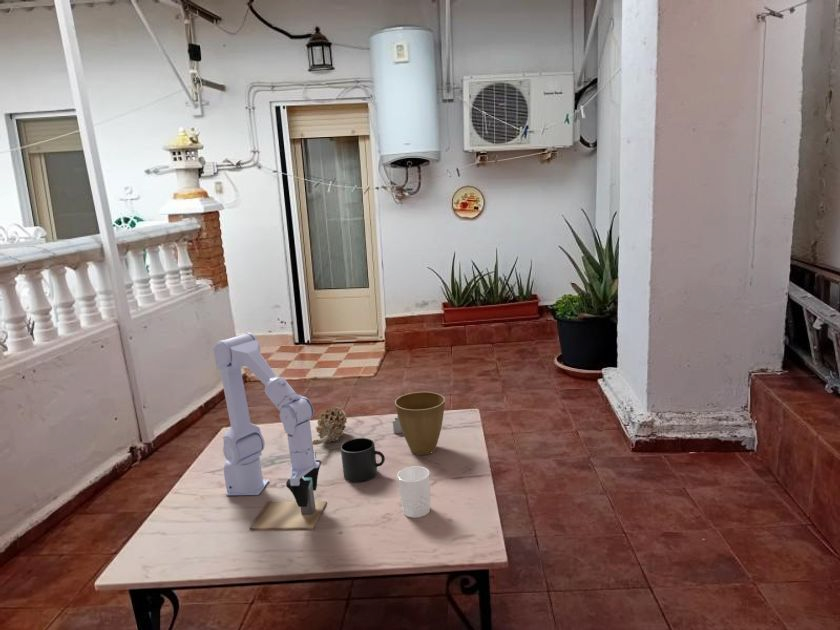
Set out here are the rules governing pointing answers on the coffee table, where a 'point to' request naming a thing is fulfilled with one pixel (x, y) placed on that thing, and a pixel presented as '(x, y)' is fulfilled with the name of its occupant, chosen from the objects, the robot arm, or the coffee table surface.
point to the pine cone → (330, 425)
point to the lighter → (397, 426)
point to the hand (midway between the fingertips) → (307, 497)
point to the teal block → (309, 500)
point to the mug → (360, 459)
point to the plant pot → (421, 420)
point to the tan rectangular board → (286, 516)
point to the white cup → (414, 491)
